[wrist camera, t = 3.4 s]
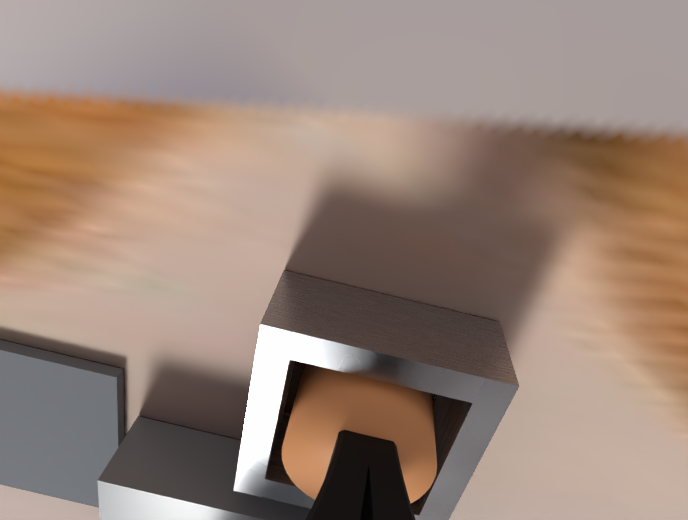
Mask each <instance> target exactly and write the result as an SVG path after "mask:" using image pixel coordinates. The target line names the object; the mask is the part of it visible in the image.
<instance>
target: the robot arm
mask: <svg viewBox="0 0 688 520" xmlns="http://www.w3.org/2000/svg"><path fill="white" fill-rule="evenodd" d="M305 520H416V519H415V516H414V513H413V510H412V507H411V503H410V500H409V496H408V493H407V489H406V485H405V482H404V478H403V474H402V470H401V466H400V461H399V456H398V451H397V446H396V444H395V443H394V441H390V440H386V439H382V438H377V437H373V436H369V435H365V434H360V433H356V432H352V431H348V430H342V431H340V432H339V433H338V436H337V439H336V443H335V446H334V449H333V453H332V456H331V459H330V463H329V466H328V469H327V473H326V476H325V479H324V482H323V484H322V486H321V488H320V491H319V493H318V495H317V497H316V499H315V502H314V504H313V506H312V508H311V510H310V512H309V514H308V516H307V517H306V519H305Z"/></svg>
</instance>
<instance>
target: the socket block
mask: <svg viewBox="0 0 688 520" xmlns="http://www.w3.org/2000/svg"><path fill="white" fill-rule="evenodd" d="M240 447H241V440H236V439H232V438H228V437H224V436H219V435H215V434H211V433H207V432H203V431H198V430H194V429H190V428H186V427H181V426H177V425H173V424H169V423H165V422H160V421H156V420H152V419H148V418H143V417H139V416H138V417H137V419H136V421H135V422H134V424H133V425H132V427H131V428H130V430H129V432H128V433H127V435H126V436H125V438H124V439H123V441H122V443H121V444H120V446H119V447H118V449H117V450H116V452H115V454H114V455H113V457H112V458H111V460H110V461H109V463H108V465H107V466H106V468H105V469H104V471H103V472H102V474H101V476H100V477H99V479H98V480H97V482H98V499H99V517H100V520H305V519H306V517H307V516H308V514H309V512H310V510H311V509H310V508H305V507H301V506H297V505H293V504H289V503H284V502H280V501H276V500H272V499H267V498H263V497H259V496H255V495H250V494H246V493H242V492H238V491H234V485H235V479H236V472H237V466H238V460H239V454H240Z"/></svg>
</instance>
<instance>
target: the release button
mask: <svg viewBox="0 0 688 520" xmlns="http://www.w3.org/2000/svg"><path fill="white" fill-rule="evenodd" d="M342 430H348V431H352V432H356V433H360V434H365V435H369V436H373V437H377V438H382V439H386V440H390V441H394V443H395V444H396V446H397V451H398V456H399V461H400V466H401V470H402V474H403V478H404V482H405V485H406V489H407V493H408V496H409V500H410V503H413V502H414V501H416V500H417V499H419V498H420V497H421V496H423V495H424V494H425V493H426V492H427V490H428V489H429V488H430V487H431V485H432V483H433V481H434V479H435V476H436V472H437V456H436V443H435V430H434V417H433V404H432V393H428V392H424V391H420V390H416V389H412V388H407V387H403V386H399V385H395V384H391V383H386V382H382V381H378V380H374V379H370V378H365V377H361V376H357V375H353V374H349V373H344V372H340V371H336V370H332V369H328V368H324V367H319V366H315V365H311V364H307V363H306V365H305V367H304V369H303V372H302V375H301V378H300V382H299V386H298V390H297V393H296V397H295V401H294V405H293V408H292V412H291V416H290V419H289V423H288V427H287V431H286V434H285V438H284V442H283V445H282V461H283V465H284V468H285V470H286V472H287V474H288V476H289V477H290V479H291V480H292V481H293V483H294V484H295V485H296V486H297V487H298V488H299V489H300V490H301V491H303V492H304V493H305V494H307V495H308V496H309V497H311V498H313V499H314V500H315V499H316V497H317V495H318V493H319V491H320V488H321V486H322V484H323V482H324V479H325V476H326V473H327V469H328V466H329V463H330V459H331V456H332V453H333V449H334V446H335V443H336V439H337V436H338V433H339V432H340V431H342Z"/></svg>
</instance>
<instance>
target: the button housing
mask: <svg viewBox="0 0 688 520" xmlns="http://www.w3.org/2000/svg"><path fill="white" fill-rule="evenodd" d="M295 361H298V362H303V363H307V364H311V365H315V366H319V367H324V368H328V369H332V370H336V371H340V372H344V373H349V374H353V375H357V376H361V377H365V378H370V379H374V380H378V381H382V382H386V383H391V384H395V385H399V386H403V387H407V388H412V389H416V390H420V391H424V392H428V393H432V394H437V396H436V399H435V401H434V403H433V417H434V430H435V443H436V456H437V472H436V476H435V479H434V481H433V483H432V485H431V487H430V488H429V489H428V490H427V492H426V493H425V494H424V495H423V496H421V497H420V498H419V499H417V500H416V501H414V502H413V503H411V507H412V510H413V513H414V516H415V519H416V520H449V518H450V516H451V514H452V512H453V510H454V508H455V507H456V505H457V503H458V501H459V499H460V497H461V495H462V493H463V491H464V490H465V488H466V486H467V484H468V482H469V480H470V478H471V476H472V474H473V472H474V471H475V469H476V467H477V465H478V463H479V461H480V459H481V457H482V455H483V454H484V452H485V450H486V448H487V446H488V444H489V442H490V440H491V438H492V437H493V435H494V433H495V431H496V429H497V427H498V425H499V423H500V421H501V420H502V418H503V416H504V414H505V412H506V410H507V408H508V406H509V404H510V403H511V401H512V399H513V397H514V395H515V393H516V391H517V389H518V387H519V384H518V381H517V378H516V374H515V371H514V368H513V365H512V361H511V358H510V355H509V351H508V348H507V345H506V342H505V338H504V335H503V332H502V329H501V325H500V322H498V321H494V320H490V319H486V318H481V317H477V316H473V315H469V314H465V313H461V312H457V311H452V310H448V309H444V308H440V307H436V306H432V305H427V304H423V303H419V302H415V301H411V300H407V299H402V298H398V297H394V296H390V295H386V294H382V293H377V292H373V291H369V290H365V289H361V288H357V287H352V286H348V285H344V284H340V283H336V282H332V281H328V280H323V279H319V278H315V277H311V276H307V275H303V274H298V273H294V272H290V271H286V270H284V271H283V274H282V276H281V278H280V280H279V283H278V285H277V287H276V289H275V292H274V294H273V296H272V299H271V301H270V303H269V305H268V308H267V310H266V312H265V314H264V317H263V319H262V321H261V324H260V329H259V335H258V341H257V347H256V354H255V360H254V366H253V372H252V379H251V385H250V391H249V397H248V404H247V410H246V416H245V422H244V429H243V435H242V441H241V447H240V454H239V460H238V466H237V472H236V479H235V485H234V491H238V492H242V493H246V494H250V495H255V496H259V497H263V498H267V499H272V500H276V501H280V502H284V503H289V504H293V505H297V506H301V507H305V508H310V509H311V508H312V506H313V504H314V502H315V500H314V499H313V498H311V497H309V496H308V495H307V494H305V493H304V492H303V491H301V490H300V489H299V488H298V487H297V486H296V485H295V484H294V483H293V481H292V480H291V479H290V477H289V476H288V474H287V472H286V470H285V468H284V465H283V461H282V445H283V442H284V438H285V434H286V431H287V427H288V423H289V419H290V416H291V413H287V412H284V410H285V405H286V400H287V395H288V391H289V386H290V381H291V377H292V372H293V367H294V363H295Z"/></svg>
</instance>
